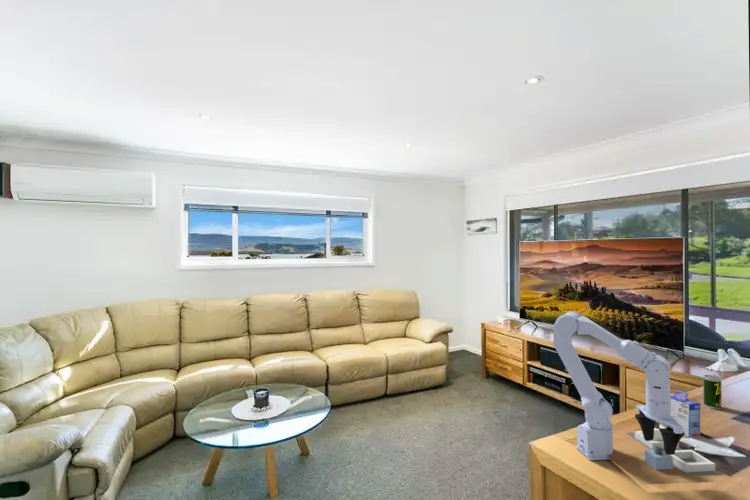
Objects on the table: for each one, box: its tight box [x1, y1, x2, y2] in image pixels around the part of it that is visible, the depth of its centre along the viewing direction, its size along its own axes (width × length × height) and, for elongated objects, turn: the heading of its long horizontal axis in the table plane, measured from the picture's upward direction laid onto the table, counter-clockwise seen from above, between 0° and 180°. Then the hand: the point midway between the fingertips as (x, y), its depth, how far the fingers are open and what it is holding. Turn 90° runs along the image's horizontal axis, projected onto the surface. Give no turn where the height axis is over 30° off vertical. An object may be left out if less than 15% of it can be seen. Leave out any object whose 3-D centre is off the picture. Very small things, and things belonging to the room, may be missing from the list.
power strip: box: [625, 430, 723, 476], centre depth 116 cm, size 10×24×4 cm, turn 3°
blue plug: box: [644, 446, 674, 471], centre depth 109 cm, size 5×4×7 cm
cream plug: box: [653, 421, 666, 441], centre depth 121 cm, size 5×4×7 cm
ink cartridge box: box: [660, 389, 701, 438], centre depth 130 cm, size 10×6×14 cm, turn 15°
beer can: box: [702, 374, 723, 410], centre depth 152 cm, size 5×5×12 cm
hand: (658, 446), depth 109 cm, fingers open, 7 cm apart
